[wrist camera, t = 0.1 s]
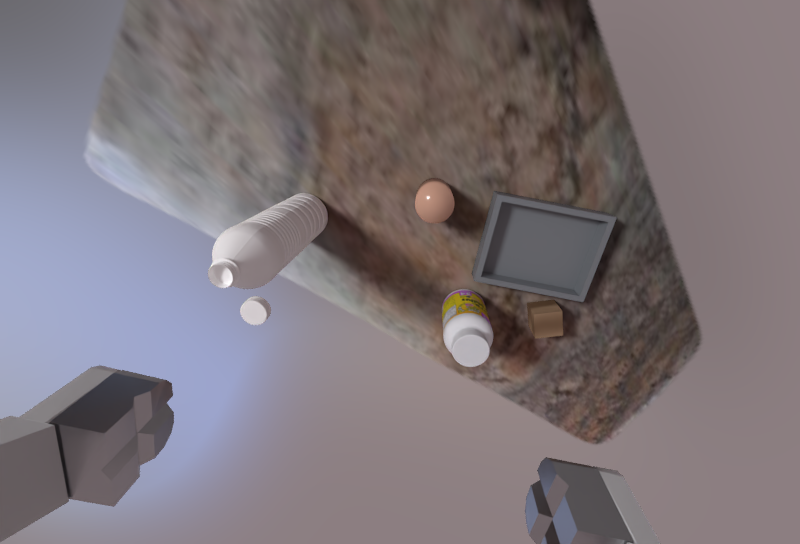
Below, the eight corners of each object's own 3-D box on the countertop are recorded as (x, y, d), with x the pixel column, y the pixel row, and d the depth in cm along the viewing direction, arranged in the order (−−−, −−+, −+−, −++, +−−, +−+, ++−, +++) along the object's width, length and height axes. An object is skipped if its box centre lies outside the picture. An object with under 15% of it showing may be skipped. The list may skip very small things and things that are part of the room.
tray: (493, 190, 53) (497, 194, 50) (607, 212, 53) (616, 217, 50) (471, 273, 57) (474, 281, 55) (575, 293, 57) (583, 302, 55)
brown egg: (420, 175, 53) (419, 180, 47) (455, 181, 53) (458, 188, 47) (413, 209, 55) (411, 219, 49) (447, 216, 55) (449, 226, 49)
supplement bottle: (493, 303, 59) (509, 348, 47) (465, 332, 61) (474, 382, 49) (459, 279, 58) (467, 318, 46) (432, 309, 60) (433, 355, 48)
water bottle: (276, 209, 56) (167, 268, 33) (308, 183, 54) (218, 225, 31) (314, 255, 58) (237, 341, 35) (347, 231, 57) (289, 304, 33)
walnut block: (526, 302, 59) (533, 314, 55) (553, 299, 58) (562, 311, 54) (528, 325, 60) (535, 338, 56) (554, 322, 59) (563, 335, 56)
